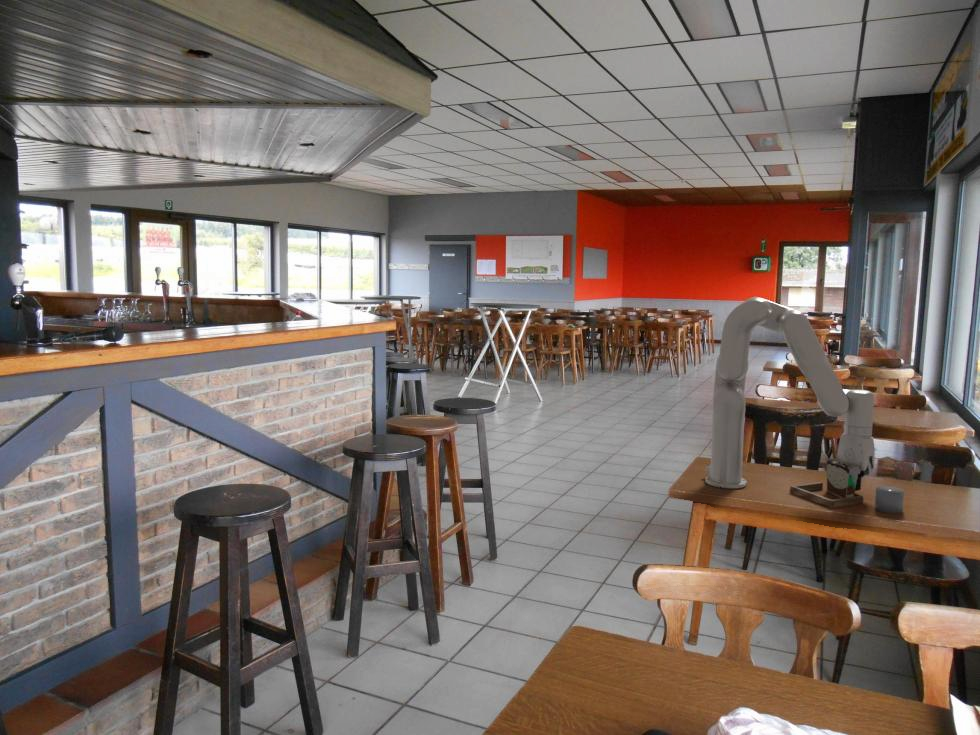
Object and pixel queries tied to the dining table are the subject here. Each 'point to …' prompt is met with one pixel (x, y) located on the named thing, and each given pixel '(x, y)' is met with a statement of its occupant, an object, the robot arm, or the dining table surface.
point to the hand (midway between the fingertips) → (854, 489)
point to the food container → (841, 478)
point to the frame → (804, 492)
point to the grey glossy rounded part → (889, 499)
